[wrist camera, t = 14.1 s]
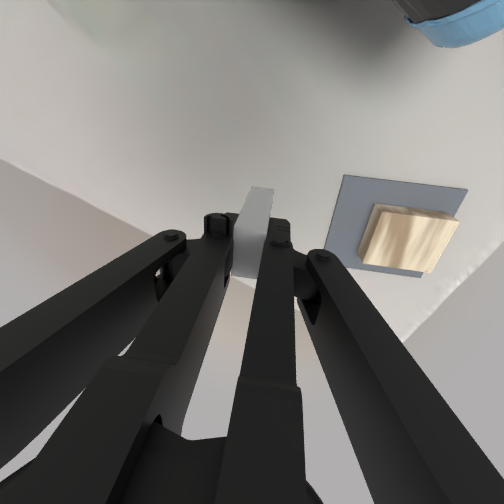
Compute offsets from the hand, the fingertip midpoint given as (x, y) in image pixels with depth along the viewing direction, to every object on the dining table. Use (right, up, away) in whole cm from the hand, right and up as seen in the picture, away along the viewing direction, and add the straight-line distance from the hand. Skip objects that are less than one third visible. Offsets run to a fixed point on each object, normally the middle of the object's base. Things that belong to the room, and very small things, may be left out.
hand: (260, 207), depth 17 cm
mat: (+24, +1, +29) cm, 38 cm away
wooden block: (+20, 0, +27) cm, 34 cm away
